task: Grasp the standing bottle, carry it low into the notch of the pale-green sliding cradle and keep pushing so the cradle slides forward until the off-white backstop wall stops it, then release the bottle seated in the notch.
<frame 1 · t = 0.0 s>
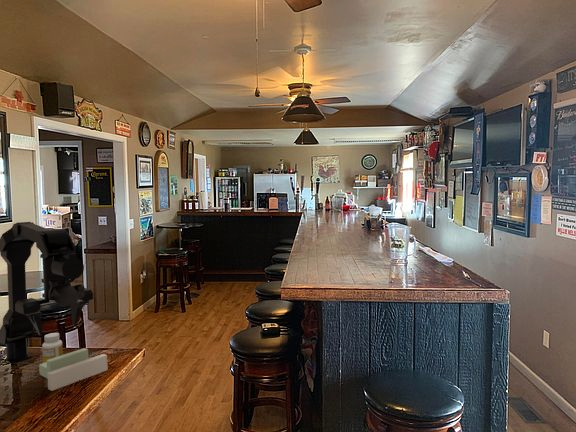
hand: (57, 330, 118), 15 cm above the table, fingers open, 9 cm apart
supplement bottle: (53, 366, 130), on the table
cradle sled: (64, 361, 125), point 3 cm above the table, slide at 0.0 cm
backstop wall: (79, 379, 121), on the table
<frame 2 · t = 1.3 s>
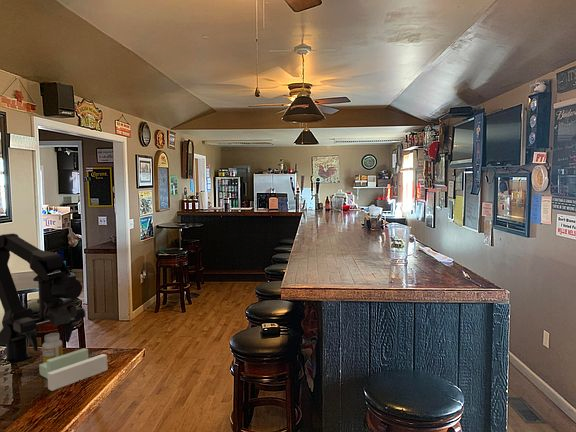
hand: (52, 346, 129), 6 cm above the table, fingers open, 9 cm apart
nothing on the table moved.
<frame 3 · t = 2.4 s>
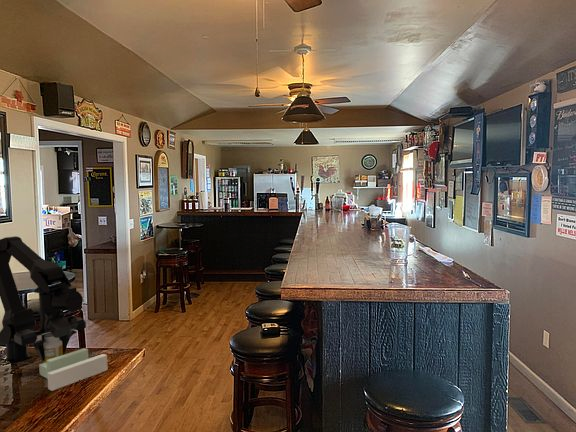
hand: (53, 357, 130), 3 cm above the table, fingers closed on supplement bottle, 5 cm apart
supplement bottle: (53, 366, 130), on the table, touching gripper
everything else where it was.
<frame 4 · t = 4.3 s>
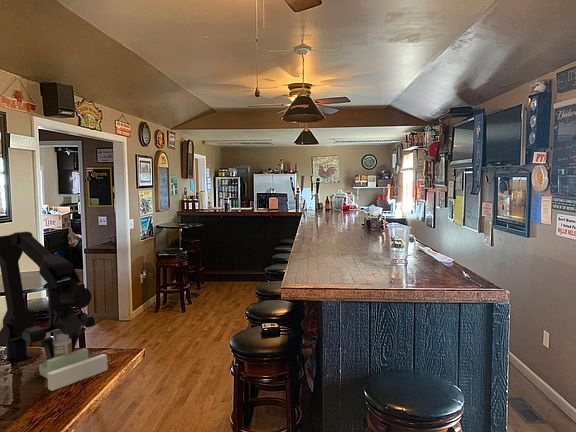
hand: (62, 355, 126), 5 cm above the table, fingers closed on supplement bottle, 5 cm apart
supplement bottle: (62, 364, 126), point 2 cm above the table, touching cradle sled, gripper
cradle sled: (64, 361, 125), point 3 cm above the table, slide at 0.0 cm, touching supplement bottle
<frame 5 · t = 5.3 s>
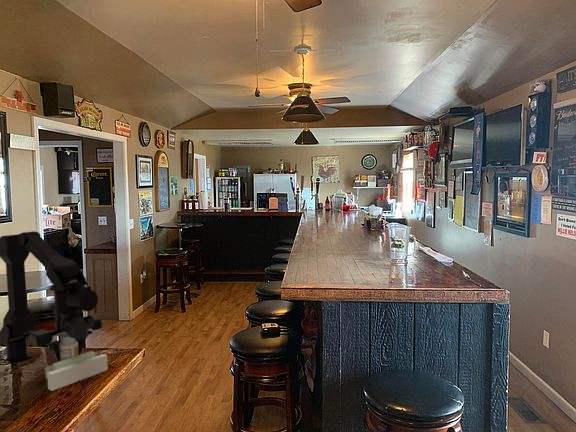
hand: (68, 359, 124), 4 cm above the table, fingers closed on supplement bottle, 5 cm apart
supplement bottle: (68, 368, 124), point 2 cm above the table, touching gripper
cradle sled: (70, 365, 123), point 3 cm above the table, slide at 3.9 cm
when the fingers open (4 cm above the table, at t = 6.4 s): supplement bottle drops 2 cm, on the table.
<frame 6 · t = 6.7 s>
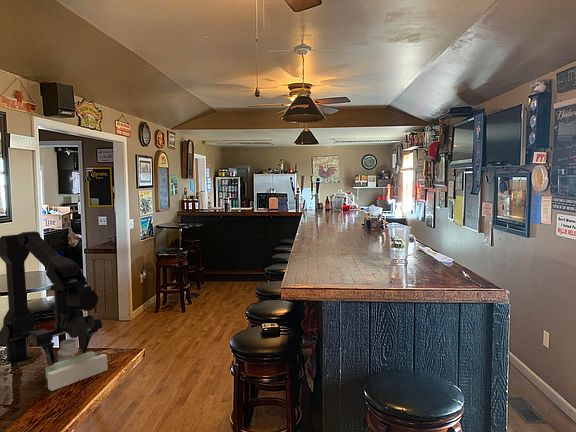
hand: (68, 358, 124), 4 cm above the table, fingers open, 9 cm apart
supplement bottle: (69, 374, 124), on the table
everything else where it was.
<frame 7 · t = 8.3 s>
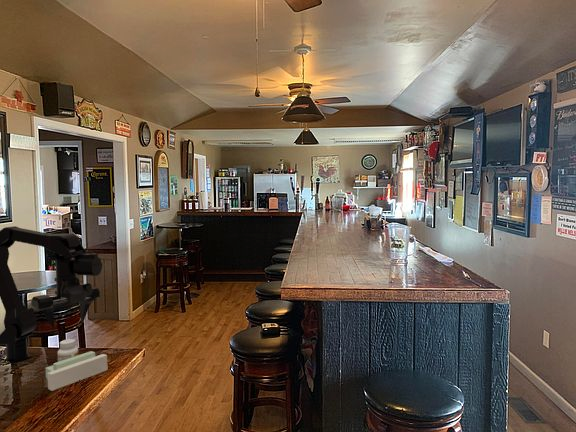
hand: (68, 323, 133), 12 cm above the table, fingers open, 9 cm apart
nothing on the table moved.
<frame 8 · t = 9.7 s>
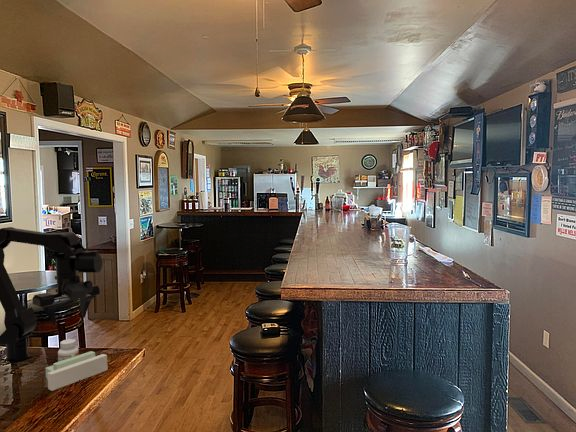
hand: (69, 321, 135), 12 cm above the table, fingers open, 9 cm apart
nothing on the table moved.
at the end: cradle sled slide at 4.0 cm; supplement bottle 0.6 cm from the target spot, on the table; supplement bottle tilted 1° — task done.
